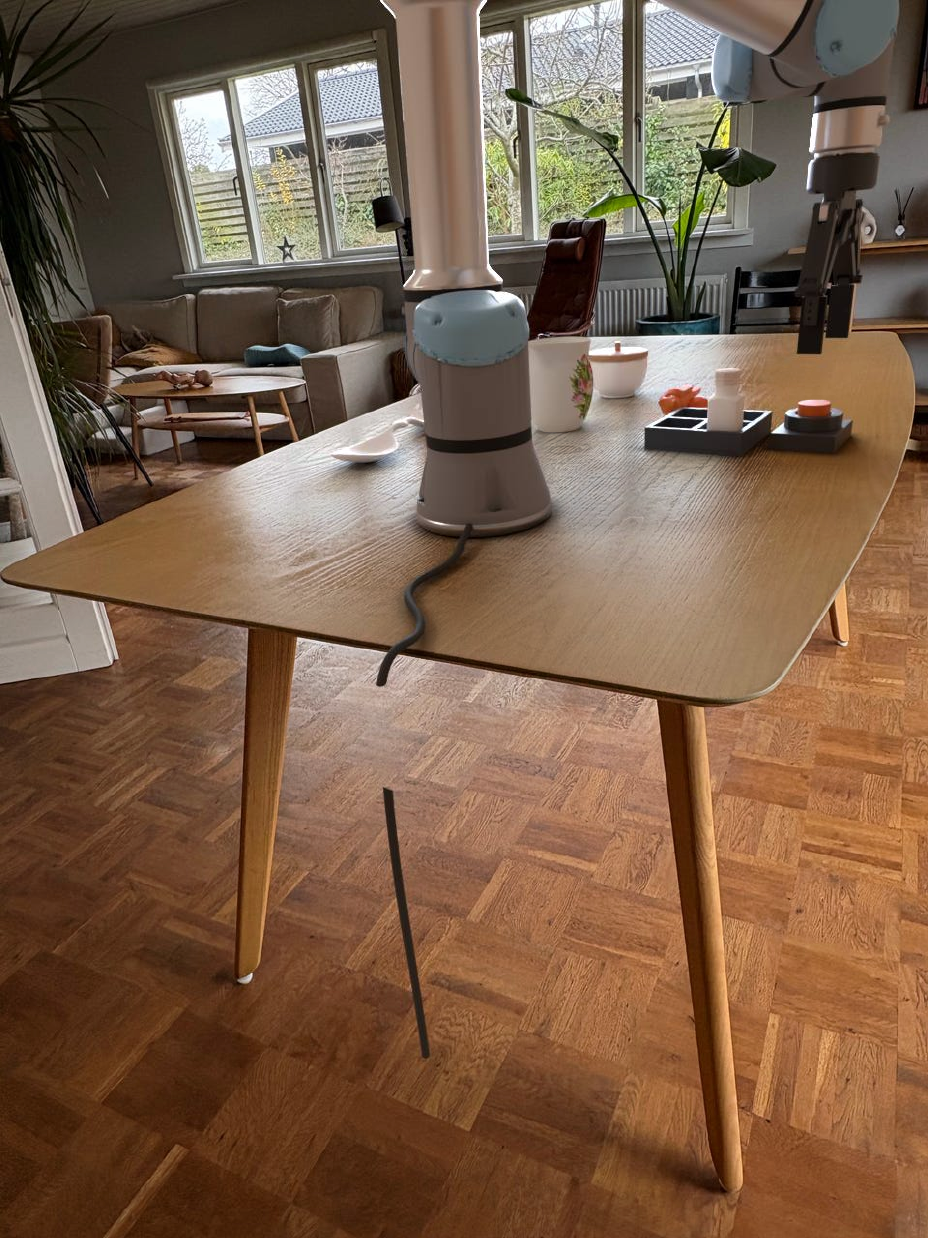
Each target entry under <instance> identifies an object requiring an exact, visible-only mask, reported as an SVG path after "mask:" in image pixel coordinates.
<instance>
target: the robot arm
mask: <svg viewBox="0 0 928 1238" xmlns="http://www.w3.org/2000/svg"><path fill="white" fill-rule="evenodd" d="M379 1H380V2H381V3H382V4H383V5H384V7H385V8H386V9H387V10H388V12H390V13H391V14H392V15H393V18H394V19H395V25H396V40H397V52H398V65H399V79H400V92H401V103H402V104H401V105H402V117H403V119H402V120H403V130H404V143H405V156H406V157H405V158H406V169H407V181H408V182H407V183H408V195H409V208H410V221H411V223H410V224H411V236H412V247H413V248H412V249H413V260H414V261H413V262H414V270H413V272H412V274H411V275H410V277H409V278H408V279H407V281H406V282H405V283H404V284H403V286H402V287H403V298H404V311H405V324H406V332H405V340H404V354H405V359H406V363H407V366H408V369H409V370H410V372H411V375H412V376H413V378H414V379H415V381H417V383H418V384H419V388H420V397H421V406H422V407H421V408H423V416H424V426H425V428H424V434H425V435H424V436H425V444H426V445H425V446H426V457H425V463H424V467H423V470H422V471H423V472H422V475H421V480H420V486H419V492H418V495H417V499H416V516H417V523H418V525H419V526H420V527H421V528H423V529H425V530H426V531H429V532H432V533H434V534H437V535H442V536H449V537H457V538H458V537H459V539H458V541H457V545H456V547H455V550H454V552H453V553H452V555H451V556H450V557H448V558H447V559H446V560H444V561H443V562H441V563H440V564H438V565H436V566H434V567H432V568H430V569H428V570H427V571H424V572H423V573H421V574H419V575H418V576H416V577H415V578H414V579H413V580H412V581H411V582H409V584H408V585H407V587H406V588H405V590H404V595H403V596H404V597H403V599H404V603H405V605H406V608H407V609H408V610H409V613H411V615H412V616H413V618H414V621H415V628H414V630H413V632H412V633H411V634H409V635H408V636H406V637H405V638H403V639H401V640H399V641H397V642H396V643H395V644H394V645H392V647H390V649H389V650H388V651H387V652H386V654H385V655H384V657H383V659H382V661H381V663H380V667H379V669H378V673H377V675H376V681H375V685H376V687H379V688H380V687H381V688H382V687H384V686H386V685H387V683H388V677H389V674H390V672H391V671H390V670H391V668H392V665H393V663H394V661H395V659H396V658H397V656H399V655H400V654H401V653H402V652H404V650H406V649H408V648H410V647H411V646H413V645H414V644H416V643H418V641H420V640H421V638H422V637H423V636H424V633H425V629H426V619H425V617H424V614H423V612H422V611H421V609H420V608H419V607H418V606H417V604H416V603H415V600H414V596H413V595H414V592H415V591H416V589H417V588H418V587H419V586H421V585H422V584H424V583H426V582H427V581H428V580H430V579H432V578H434V577H436V576H438V575H440V574H441V573H443V572H445V571H446V570H448V569H450V568H451V567H452V566H453V565H454V564H455V563H456V562H458V560H459V559H460V558H461V556H462V554H463V552H464V550H465V546H466V543H467V541H468V539H469V538H482V537H484V538H485V537H495V536H501V535H508V534H512V533H517V532H521V531H524V530H528V529H530V528H533V527H536V526H537V525H540V524H541V523H543V522H544V521H546V520H547V519H548V518H549V517H550V516H551V514H552V512H553V511H552V508H553V507H552V498H551V491H550V487H549V485H548V484H547V481H546V478H545V475H544V472H543V469H542V466H541V464H540V461H539V458H538V456H537V452H536V450H535V448H534V443H533V428H532V423H533V422H532V419H531V399H530V375H529V351H528V341H529V339H530V327H529V322H528V319H527V311H526V307H525V304H524V302H523V301H522V300H521V299H520V298H519V297H518V296H516V295H515V294H512V293H509V292H506V291H503V289H504V287H503V285H504V284H503V279H502V278H501V277H500V276H499V275H498V274H497V273H496V272H495V271H494V270H493V269H492V267H491V265H490V263H489V262H490V261H489V260H490V259H489V240H488V239H489V237H488V235H489V234H488V213H487V212H488V211H487V189H486V188H487V187H486V166H485V164H486V162H485V139H484V116H483V115H484V113H483V92H482V91H483V89H482V65H481V64H482V63H481V62H482V61H481V42H480V41H481V39H480V38H481V37H480V16H479V14H480V11H481V9H482V8H483V7H484V5H485V4H486V3H487V1H488V0H379ZM650 1H651V2H653V3H656V4H657V5H660V6H662V7H664V8H667V9H669V10H671V11H672V12H674V13H677V14H678V15H681V16H683V17H684V18H687V19H690V20H692V21H693V22H696V23H698V24H699V25H702V26H704V27H706V28H709V29H711V30H713V31H714V32H716V33H718V34H719V35H718V37H717V38H716V42H715V45H714V50H713V53H712V59H711V83H712V89H713V92H714V94H715V95H716V97H717V99H719V100H720V101H721V102H724V103H743V104H748V102H757V101H758V102H759V101H769V100H771V101H772V100H780V99H781V100H782V99H790V98H791V99H793V98H800V97H801V98H802V97H803V98H810V97H814V104H813V105H814V107H813V117H812V125H811V126H812V127H811V136H810V145H809V146H810V147H809V153H810V154H811V155H814V159H811V160H810V162H809V163H808V169H807V170H808V171H807V179H806V180H807V182H806V193H807V194H808V195H823V198H822V201H820V202H814V203H813V205H812V214H811V223H810V227H809V233H808V238H807V242H806V246H805V252H804V255H803V260H802V264H801V265H802V266H801V270H800V275H799V279H798V284H797V287H796V288H795V289H794V297H795V298H801V306H800V315H799V316H800V317H799V324H798V336H797V346H796V355H821V354H822V353H823V345H824V338H825V339H848V338H849V333H850V325H851V318H852V317H851V316H852V307H853V299H854V291H855V284H856V285H857V284H862V281H863V274H861V237H862V236H861V232H862V212H863V206H864V199H863V198H857V196H856V194H857V191H868V190H872V189H874V188H875V187H876V185H877V183H878V182H877V181H878V172H879V167H880V166H879V165H880V157H881V156H880V155H879V153H878V152H875V148H878V147H879V146H881V144H882V138H883V126H887V125H889V123H890V121H891V118H890V115H888V114H886V113H885V112H886V105H887V98H888V92H889V85H890V78H891V71H892V70H891V69H892V62H893V55H894V49H895V48H894V47H895V40H896V38H897V35H898V31H897V30H898V28H897V26H898V23H899V22H898V21H899V16H900V2H899V1H900V0H650ZM831 275H832V277H833V284H832V285H830V290H829V295H826V293H827V288H828V285H829V281H830V278H831ZM828 299H829V301H828ZM827 307H828V308H827ZM826 317H827V319H826ZM825 327H826V328H825ZM824 334H825V335H824ZM382 795H383V804H384V814H385V822H386V832H387V839H388V848H389V858H390V864H391V871H392V877H393V884H394V890H395V897H396V904H397V910H398V917H399V922H400V929H401V935H402V941H403V945H404V953H405V959H406V963H407V964H406V965H407V970H408V975H409V981H410V987H411V988H410V989H411V994H412V1000H413V1005H414V1006H413V1007H414V1013H415V1018H416V1024H417V1032H418V1040H419V1045H420V1052H421V1057H422V1059H424V1060H428V1059H429V1058H430V1056H431V1051H430V1044H429V1037H428V1030H427V1023H426V1016H425V1009H424V1003H423V997H422V989H421V983H420V979H419V973H418V966H417V960H416V959H417V958H416V953H415V947H414V941H413V935H412V934H413V933H412V929H411V923H410V915H409V910H408V903H407V897H406V896H407V895H406V889H405V882H404V876H403V868H402V867H403V866H402V860H401V853H400V845H399V837H398V827H397V826H398V825H397V818H396V810H395V809H396V807H395V799H394V790H391V789H390V788H387V787H384V786H382Z"/></svg>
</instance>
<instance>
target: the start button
mask: <svg viewBox="0 0 928 1238" xmlns="http://www.w3.org/2000/svg"><path fill="white" fill-rule="evenodd" d="M797 408H798V413H797V415H801V416H810V417H817V416H827V415H830V410H831V408H832V401H830V400H826V399H805V400H801V401H799V402H798V405H797Z"/></svg>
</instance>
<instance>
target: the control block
mask: <svg viewBox="0 0 928 1238" xmlns="http://www.w3.org/2000/svg"><path fill="white" fill-rule="evenodd" d="M797 413H798V407H797V408H792V409H789V410H787V411H786V412H785V413H784V421H783V423H782V424H780V425H779V426H778V427H776V428H775V429H774V430H773V431H771V433H770V436H769V448H768V449H769V450H773V451H787V452H801V453H802V452H803V453H814V454H815V453H816V454H830V455H834V454H835V453H836V452H838V450H839V449H840V448H841V447H842V446H843V444H844V443H846V441H847V440H848V439H849V438H850V437H851V435H852V430H853V422H854V419H847V418H845V419H844V412H843V411H841V410H840V409H838V408H832V407H831V410H830V415H827V416H817V417H810V416H801V415H797Z"/></svg>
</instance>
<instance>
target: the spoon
mask: <svg viewBox="0 0 928 1238" xmlns="http://www.w3.org/2000/svg"><path fill="white" fill-rule="evenodd" d="M410 424H411V425H413V426H414V427H416V428H422V429H425V426H424V416H423V407H421V404H420V403H416V405H415V406H414V408H413V410H412V412H411V414H410V416H407V417H404V418H401V419H399V420H395V421H392V422H391V423H390V424H389V427H387V428H386V429H385V430H383V431H382V432H380V433H379V434H376V435H375V436H373V437H370V438H368V439H365V440H363V441H360V442H357V443H354V444H352V445H350V446H347V447H345V448H342V449H339V450H336V451H333V452H331V453H330V456H331V457H332V458H334V459H336V460H338V461H343V462H351V463H357V464H363V463H373V462H377V461H380V460H382V459H385V458H387V457H389V456H390V455H392V454H393V453H395V452H397V450H398V448H399V442H398V440H397V438H396V437H395V432H396V431H398V430H400V429H405V428H408V426H409V425H410Z"/></svg>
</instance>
